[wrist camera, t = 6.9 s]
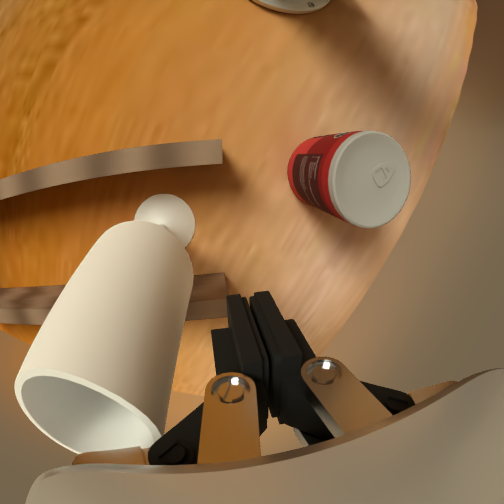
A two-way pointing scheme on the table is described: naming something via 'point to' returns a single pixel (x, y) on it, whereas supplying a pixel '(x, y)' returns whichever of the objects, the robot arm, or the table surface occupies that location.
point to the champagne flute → (114, 336)
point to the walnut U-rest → (98, 165)
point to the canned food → (352, 176)
